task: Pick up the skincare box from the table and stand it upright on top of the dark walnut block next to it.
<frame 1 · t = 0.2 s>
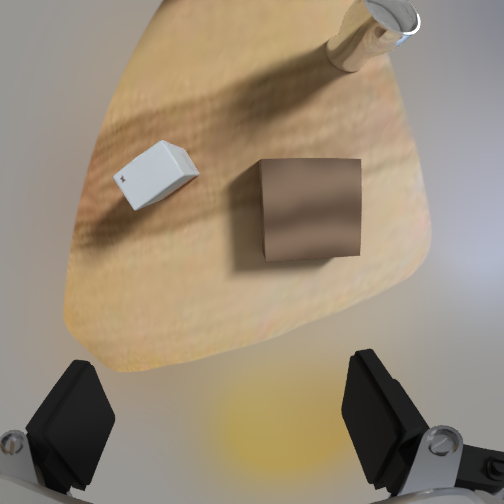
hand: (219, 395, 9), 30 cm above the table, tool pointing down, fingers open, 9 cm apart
walnut block: (305, 204, 38), on the table
beer glass: (345, 54, 32), on the table
skincare box: (174, 173, 36), on the table
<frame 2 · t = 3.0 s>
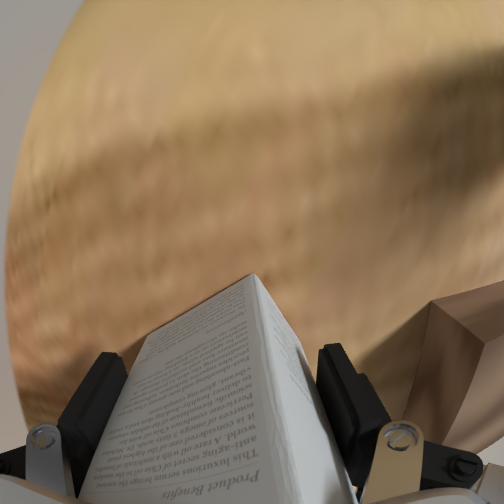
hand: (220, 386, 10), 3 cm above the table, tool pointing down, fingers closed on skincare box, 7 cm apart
walnut block: (474, 357, 15), on the table
skincare box: (225, 336, 13), on the table, touching gripper
when the fingers open (9 cm above the table, at t = 10.3 s): skincare box stays where it is, resting on walnut block.
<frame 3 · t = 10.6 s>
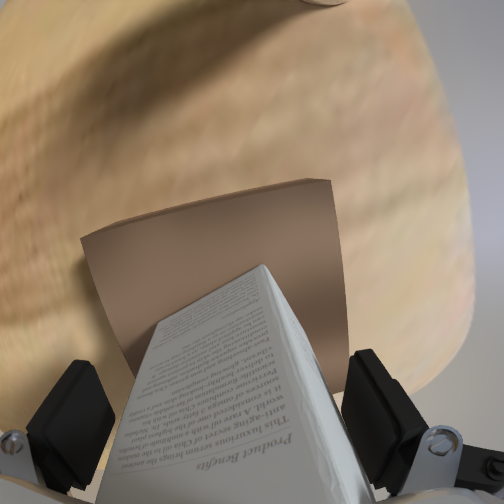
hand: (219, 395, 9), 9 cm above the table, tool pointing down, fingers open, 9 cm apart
walnut block: (229, 290, 19), on the table, touching skincare box
skincare box: (232, 324, 14), point 4 cm above the table, touching walnut block
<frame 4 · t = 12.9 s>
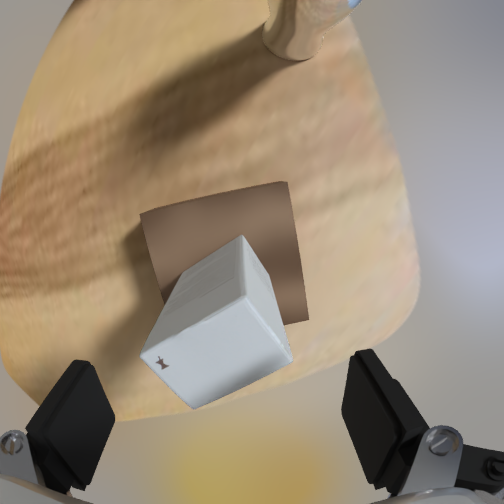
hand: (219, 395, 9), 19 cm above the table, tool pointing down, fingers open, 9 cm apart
walnut block: (229, 254, 28), on the table
beer glass: (292, 37, 23), on the table
skincare box: (226, 272, 24), point 4 cm above the table
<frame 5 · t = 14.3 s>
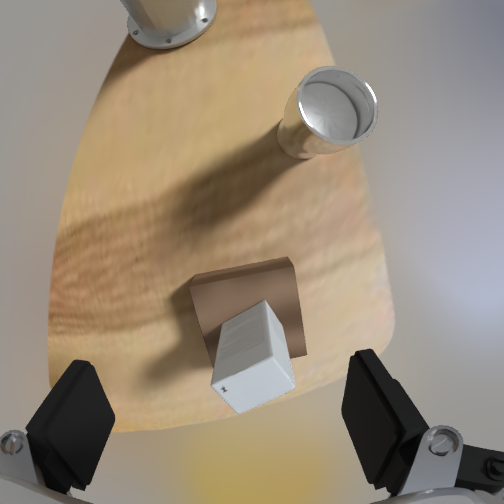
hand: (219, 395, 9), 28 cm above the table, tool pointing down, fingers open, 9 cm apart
walnut block: (250, 307, 39), on the table, touching skincare box
beer glass: (300, 135, 34), on the table
skincare box: (253, 323, 34), point 4 cm above the table, touching walnut block
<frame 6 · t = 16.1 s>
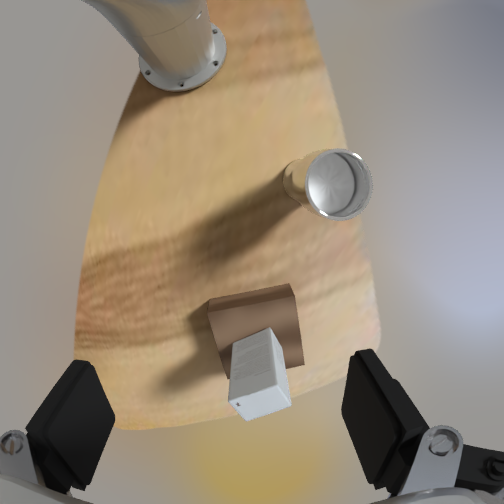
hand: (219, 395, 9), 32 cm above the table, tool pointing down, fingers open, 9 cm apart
walnut block: (256, 324, 45), on the table, touching skincare box
beer glass: (303, 180, 39), on the table
skincare box: (258, 344, 40), point 4 cm above the table, touching walnut block
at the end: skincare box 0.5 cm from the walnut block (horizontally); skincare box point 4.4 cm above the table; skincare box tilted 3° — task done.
